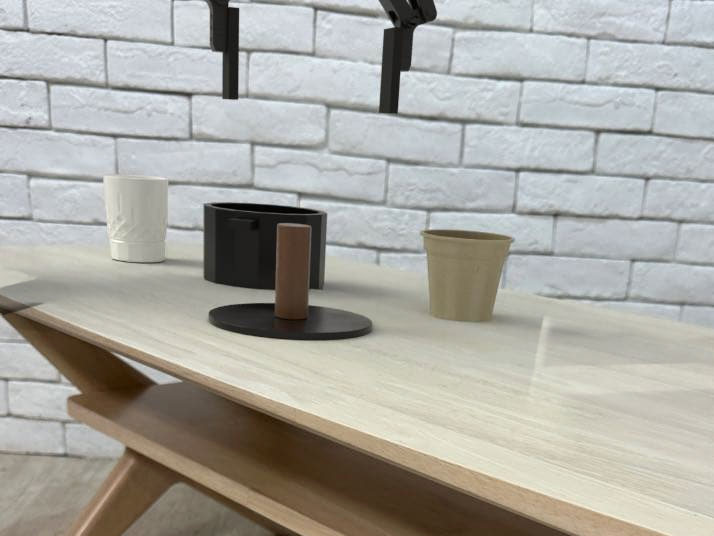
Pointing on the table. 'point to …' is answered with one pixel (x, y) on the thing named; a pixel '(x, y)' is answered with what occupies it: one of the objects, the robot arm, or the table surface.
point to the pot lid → (291, 300)
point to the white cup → (136, 216)
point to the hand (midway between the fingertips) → (311, 107)
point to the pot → (256, 243)
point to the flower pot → (464, 272)
